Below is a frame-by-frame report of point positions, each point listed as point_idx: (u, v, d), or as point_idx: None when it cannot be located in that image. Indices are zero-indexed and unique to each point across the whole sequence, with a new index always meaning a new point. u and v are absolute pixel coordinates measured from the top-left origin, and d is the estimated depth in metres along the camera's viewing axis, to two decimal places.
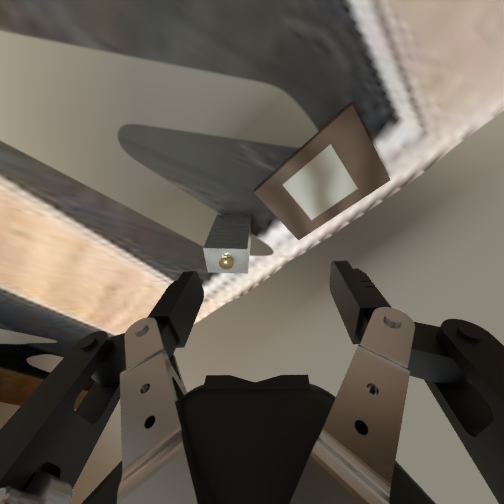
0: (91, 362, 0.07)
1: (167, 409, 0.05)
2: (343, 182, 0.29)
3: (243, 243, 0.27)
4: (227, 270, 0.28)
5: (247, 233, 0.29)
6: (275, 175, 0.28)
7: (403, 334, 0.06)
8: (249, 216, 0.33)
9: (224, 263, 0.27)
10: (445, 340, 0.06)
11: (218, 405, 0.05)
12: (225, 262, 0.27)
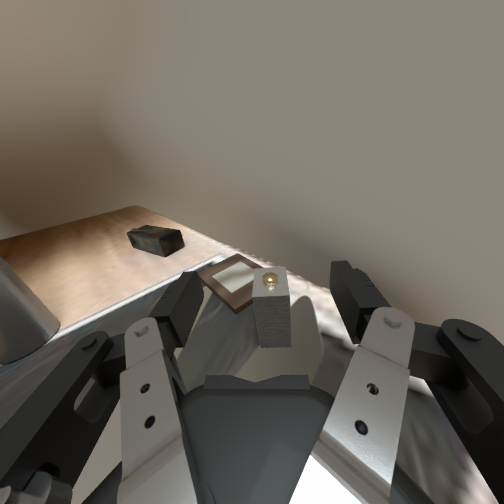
0: (91, 363, 0.07)
1: (167, 409, 0.05)
2: (236, 267, 0.45)
3: None
4: (283, 279, 0.25)
5: None
6: (224, 297, 0.37)
7: (403, 334, 0.06)
8: None
9: (269, 278, 0.25)
10: (445, 340, 0.06)
11: (218, 405, 0.05)
12: (267, 276, 0.25)
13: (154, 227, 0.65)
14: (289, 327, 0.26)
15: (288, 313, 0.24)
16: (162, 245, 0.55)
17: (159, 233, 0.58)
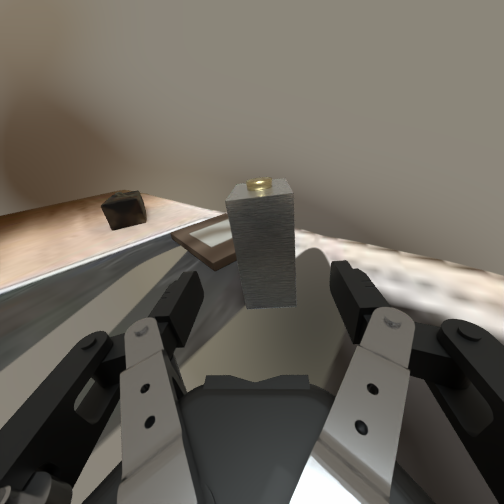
0: (91, 363, 0.07)
1: (167, 410, 0.05)
2: (221, 224, 0.35)
3: None
4: (282, 184, 0.15)
5: None
6: (200, 252, 0.26)
7: (403, 334, 0.06)
8: None
9: (257, 180, 0.15)
10: (445, 340, 0.06)
11: (218, 405, 0.05)
12: (254, 180, 0.15)
13: (134, 193, 0.54)
14: (293, 266, 0.15)
15: (291, 236, 0.14)
16: (106, 214, 0.43)
17: (115, 199, 0.46)
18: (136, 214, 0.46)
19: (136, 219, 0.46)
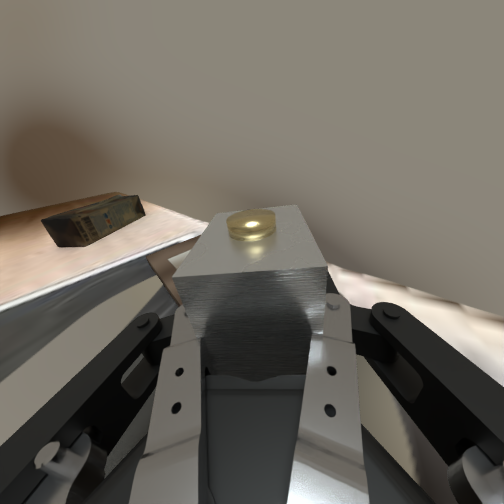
0: (140, 343, 0.07)
1: (193, 403, 0.05)
2: None
3: None
4: (295, 226, 0.08)
5: None
6: (175, 293, 0.19)
7: (338, 315, 0.07)
8: None
9: (247, 219, 0.08)
10: (376, 324, 0.07)
11: (218, 405, 0.05)
12: (242, 217, 0.08)
13: (115, 201, 0.46)
14: None
15: None
16: (47, 230, 0.38)
17: (67, 212, 0.39)
18: (72, 236, 0.37)
19: (74, 241, 0.37)
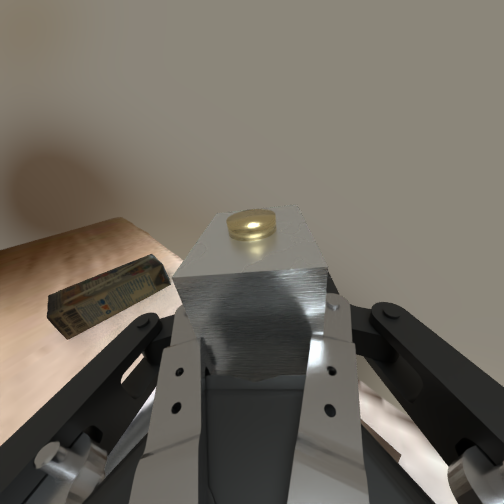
0: (140, 343, 0.07)
1: (193, 403, 0.05)
2: None
3: None
4: (295, 226, 0.08)
5: None
6: None
7: (338, 314, 0.07)
8: None
9: (247, 219, 0.08)
10: (376, 324, 0.07)
11: (218, 405, 0.05)
12: (242, 217, 0.08)
13: (127, 277, 0.37)
14: None
15: None
16: None
17: (71, 290, 0.35)
18: None
19: None
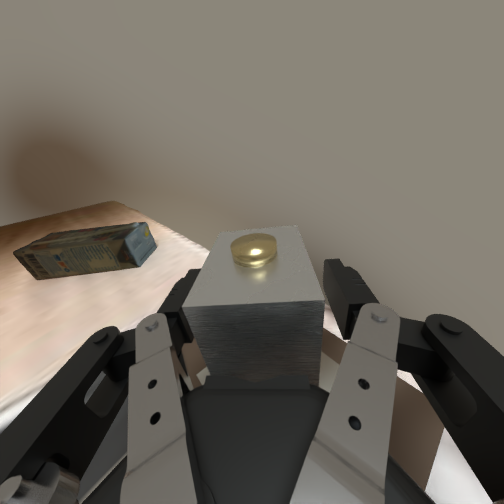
0: (102, 357, 0.07)
1: (172, 408, 0.05)
2: None
3: None
4: (295, 251, 0.08)
5: None
6: None
7: (388, 328, 0.06)
8: None
9: (251, 245, 0.08)
10: (429, 335, 0.06)
11: (218, 405, 0.05)
12: (245, 243, 0.08)
13: (89, 240, 0.31)
14: None
15: (314, 360, 0.07)
16: None
17: (56, 235, 0.34)
18: None
19: None
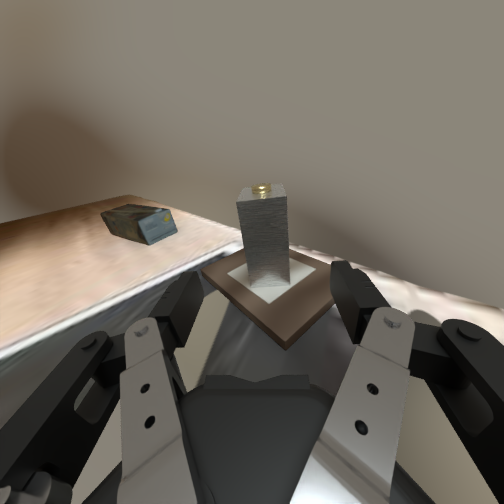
0: (91, 363, 0.07)
1: (167, 410, 0.05)
2: None
3: None
4: (279, 189, 0.19)
5: None
6: (255, 313, 0.19)
7: (403, 334, 0.06)
8: None
9: (260, 186, 0.19)
10: (445, 340, 0.06)
11: (218, 405, 0.05)
12: (257, 185, 0.19)
13: (127, 216, 0.42)
14: (287, 252, 0.20)
15: (285, 228, 0.18)
16: None
17: (124, 206, 0.49)
18: None
19: None
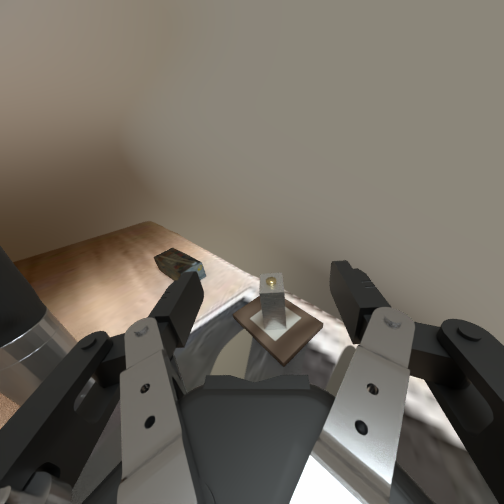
0: (91, 363, 0.07)
1: (167, 409, 0.05)
2: None
3: None
4: (280, 281, 0.37)
5: None
6: (268, 346, 0.37)
7: (403, 334, 0.06)
8: None
9: (270, 280, 0.37)
10: (445, 340, 0.06)
11: (218, 405, 0.05)
12: (269, 280, 0.37)
13: (173, 265, 0.60)
14: (284, 314, 0.37)
15: (283, 304, 0.36)
16: None
17: (170, 252, 0.67)
18: None
19: None
